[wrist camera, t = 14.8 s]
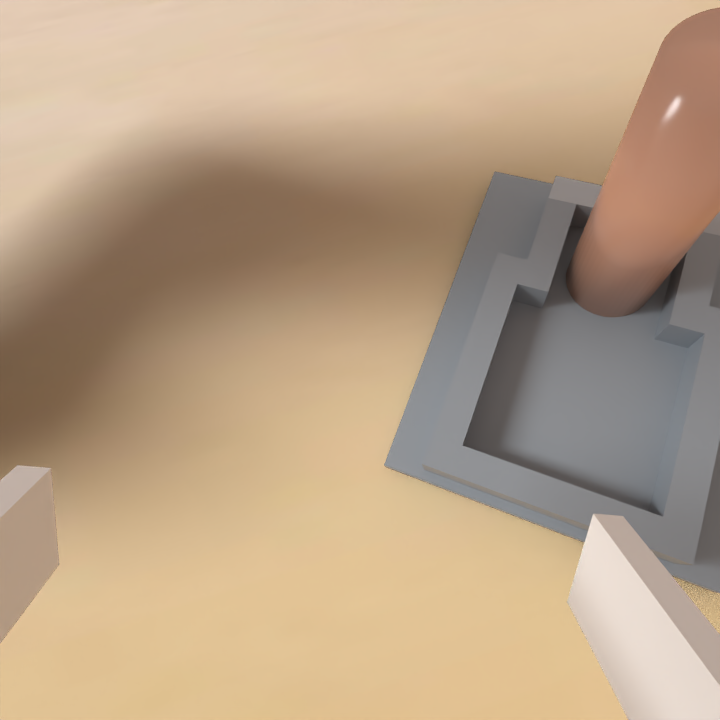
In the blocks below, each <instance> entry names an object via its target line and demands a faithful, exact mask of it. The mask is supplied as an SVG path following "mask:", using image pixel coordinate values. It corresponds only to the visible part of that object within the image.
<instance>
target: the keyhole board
mask: <svg viewBox="0 0 720 720" xmlns="http://www.w3.org/2000/svg"><path fill="white" fill-rule="evenodd" d="M601 187H602V185H598V184H593V183H588V182H583V181H579V180H574V179H569V178H564V177H559V176H556V177H555V180H554V183H553V184H551V183H546V182H542V181H537V180H532V179H527V178H523V177H518V176H513V175H509V174H504V173H499V172H494V175H493V177H492V180H491V183H490V185H489V188H488V191H487V193H486V196H485V199H484V201H483V204H482V207H481V209H480V212H479V215H478V217H477V220H476V223H475V225H474V228H473V231H472V233H471V236H470V239H469V241H468V244H467V246H466V249H465V252H464V254H463V257H462V260H461V262H460V265H459V268H458V270H457V273H456V276H455V278H454V281H453V284H452V286H451V289H450V292H449V294H448V297H447V300H446V302H445V305H444V308H443V310H442V313H441V316H440V318H439V321H438V324H437V326H436V329H435V332H434V334H433V337H432V340H431V342H430V345H429V348H428V350H427V353H426V355H425V358H424V361H423V363H422V366H421V369H420V371H419V374H418V377H417V379H416V382H415V385H414V387H413V390H412V393H411V395H410V398H409V401H408V403H407V406H406V409H405V411H404V414H403V417H402V419H401V422H400V425H399V427H398V430H397V433H396V435H395V438H394V441H393V443H392V446H391V449H390V451H389V454H388V457H387V459H386V462H385V464H384V466H385V467H387V468H390V469H392V470H395V471H398V472H400V473H403V474H406V475H408V476H411V477H413V478H416V479H419V480H421V481H424V482H427V483H429V484H432V485H434V486H437V487H440V488H442V489H445V490H448V491H450V492H453V493H455V494H458V495H461V496H463V497H466V498H469V499H471V500H474V501H476V502H479V503H482V504H484V505H487V506H490V507H492V508H495V509H497V510H500V511H503V512H505V513H508V514H511V515H513V516H516V517H518V518H521V519H524V520H526V521H529V522H532V523H534V524H537V525H539V526H542V527H545V528H547V529H550V530H553V531H555V532H558V533H560V534H563V535H566V536H568V537H571V538H574V539H576V540H579V541H581V542H584V543H585V539H586V536H587V533H588V529H589V526H590V523H591V519H592V516H593V514H605V515H616V516H623V517H624V518H625V519H626V520H627V522H628V523H629V524H630V525H631V527H632V528H633V529H634V530H635V531H636V533H637V534H638V535H639V536H640V538H641V539H642V540H643V541H644V542H645V544H646V545H647V546H648V547H649V549H650V550H651V551H652V552H653V553H654V555H655V556H656V557H657V558H658V560H659V561H660V562H661V563H662V565H663V566H664V567H665V568H666V569H667V571H668V572H669V573H670V574H671V576H673V577H676V578H679V579H681V580H684V581H686V582H689V583H692V584H694V585H697V586H700V587H702V588H705V589H707V590H710V591H713V592H716V593H720V211H719V213H718V214H717V215H716V216H715V218H714V219H713V220H712V221H711V223H710V224H709V225H708V226H707V228H706V229H705V230H704V231H703V233H702V234H701V235H700V236H699V238H698V239H697V240H696V241H695V243H694V244H693V245H692V246H691V248H690V249H689V250H688V251H687V253H686V254H685V255H684V256H683V258H682V259H681V260H680V261H679V263H678V264H677V265H676V266H675V268H674V269H673V270H672V271H671V273H670V274H669V275H668V276H667V278H666V279H665V280H664V281H663V283H662V284H661V285H660V286H659V288H658V289H657V290H656V291H655V293H654V294H653V295H652V296H651V298H650V299H649V300H648V301H647V303H646V304H645V305H644V306H643V307H642V308H640V309H639V310H638V311H636V312H634V313H632V314H629V315H626V316H622V317H604V316H599V315H596V314H593V313H591V312H589V311H587V310H585V309H583V308H582V307H581V306H580V305H578V304H577V303H576V302H575V300H574V299H573V298H572V296H571V295H570V293H569V291H568V288H567V284H566V272H567V268H568V266H569V263H570V261H571V259H572V256H573V254H574V252H575V249H576V247H577V244H578V242H579V240H580V237H581V235H582V232H583V230H584V228H585V225H586V223H587V221H588V218H589V216H590V213H591V211H592V209H593V206H594V204H595V201H596V199H597V197H598V194H599V192H600V190H601Z"/></svg>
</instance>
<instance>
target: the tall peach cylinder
mask: <svg viewBox="0 0 720 720" xmlns="http://www.w3.org/2000/svg"><path fill="white" fill-rule="evenodd" d="M719 211H720V8H715V9H710V10H707V11H703V12H700V13H698V14H695V15H693V16H691V17H689V18H687V19H685V20H684V21H682V22H681V23H679V24H678V25H677V26H675V27H674V28H673V29H672V30H671V31H670V32H669V34H668V35H667V36H666V37H665V39H664V41H663V42H662V44H661V47H660V49H659V51H658V54H657V56H656V59H655V61H654V63H653V66H652V68H651V70H650V73H649V75H648V78H647V80H646V82H645V85H644V87H643V90H642V92H641V94H640V97H639V99H638V101H637V104H636V106H635V109H634V111H633V113H632V116H631V118H630V120H629V123H628V125H627V128H626V130H625V132H624V135H623V137H622V140H621V142H620V144H619V147H618V149H617V151H616V154H615V156H614V159H613V161H612V163H611V166H610V168H609V171H608V173H607V175H606V178H605V180H604V182H603V185H602V187H601V190H600V192H599V194H598V197H597V199H596V201H595V204H594V206H593V209H592V211H591V213H590V216H589V218H588V221H587V223H586V225H585V228H584V230H583V232H582V235H581V237H580V240H579V242H578V244H577V247H576V249H575V252H574V254H573V256H572V259H571V261H570V263H569V266H568V268H567V272H566V284H567V288H568V291H569V293H570V295H571V296H572V298H573V299H574V300H575V302H576V303H577V304H578V305H580V306H581V307H582V308H583V309H585V310H587V311H589V312H591V313H593V314H596V315H599V316H604V317H622V316H626V315H629V314H632V313H634V312H636V311H638V310H639V309H640V308H642V307H643V306H644V305H645V304H646V303H647V301H648V300H649V299H650V298H651V296H652V295H653V294H654V293H655V291H656V290H657V289H658V288H659V286H660V285H661V284H662V283H663V281H664V280H665V279H666V278H667V276H668V275H669V274H670V273H671V271H672V270H673V269H674V268H675V266H676V265H677V264H678V263H679V261H680V260H681V259H682V258H683V256H684V255H685V254H686V253H687V251H688V250H689V249H690V248H691V246H692V245H693V244H694V243H695V241H696V240H697V239H698V238H699V236H700V235H701V234H702V233H703V231H704V230H705V229H706V228H707V226H708V225H709V224H710V223H711V221H712V220H713V219H714V218H715V216H716V215H717V214H718V213H719Z"/></svg>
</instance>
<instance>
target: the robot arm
mask: <svg viewBox="0 0 720 720" xmlns="http://www.w3.org/2000/svg"><path fill="white" fill-rule="evenodd" d="M58 565H59V555H58V544H57V532H56V520H55V508H54V496H53V484H52V472H51V468H45V467H33V466H21V465H17V466H16V467H15V468H14V469H12V470H11V471H10V472H9V473H8V474H7V475H6V476H4V477H3V478H2V479H1V480H0V643H1V642H2V641H3V639H4V638H5V637H6V635H7V634H8V632H9V631H10V630H11V628H12V627H13V626H14V624H15V623H16V622H17V620H18V619H19V618H20V616H21V615H22V614H23V612H24V611H25V610H26V608H27V607H28V606H29V604H30V603H31V602H32V600H33V599H34V598H35V596H36V595H37V594H38V592H39V591H40V589H41V588H42V587H43V585H44V584H45V583H46V581H47V580H48V579H49V577H50V576H51V575H52V573H53V572H54V571H55V569H56V568H57V567H58ZM567 603H568V605H569V607H570V608H571V610H572V612H573V614H574V616H575V618H576V620H577V622H578V624H579V626H580V628H581V630H582V632H583V633H584V635H585V637H586V639H587V641H588V643H589V645H590V647H591V649H592V651H593V653H594V655H595V657H596V658H597V660H598V662H599V664H600V666H601V668H602V670H603V672H604V674H605V676H606V678H607V680H608V682H609V683H610V685H611V687H612V689H613V691H614V693H615V695H616V697H617V699H618V701H619V703H620V705H621V707H622V708H623V710H624V712H625V714H626V716H627V718H628V720H720V634H719V633H718V632H717V631H716V629H715V628H714V627H713V626H712V624H711V623H710V622H709V621H708V620H707V618H706V617H705V616H704V615H703V613H702V612H701V611H700V610H699V609H698V607H697V606H696V605H695V604H694V602H693V601H692V600H691V599H690V598H689V596H688V595H687V594H686V593H685V591H684V590H683V589H682V588H681V587H680V585H679V584H678V583H677V582H676V580H675V579H674V578H673V577H672V576H671V574H670V573H669V572H668V571H667V569H666V568H665V567H664V566H663V565H662V563H661V562H660V561H659V560H658V558H657V557H656V556H655V555H654V553H653V552H652V551H651V550H650V549H649V547H648V546H647V545H646V544H645V542H644V541H643V540H642V539H641V538H640V536H639V535H638V534H637V533H636V531H635V530H634V529H633V528H632V527H631V525H630V524H629V523H628V522H627V520H626V519H625V518H624V517H623V516H616V515H605V514H593V516H592V519H591V523H590V526H589V529H588V533H587V536H586V539H585V543H584V546H583V550H582V553H581V556H580V560H579V563H578V566H577V570H576V573H575V577H574V580H573V583H572V587H571V590H570V593H569V597H568V600H567Z"/></svg>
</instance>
